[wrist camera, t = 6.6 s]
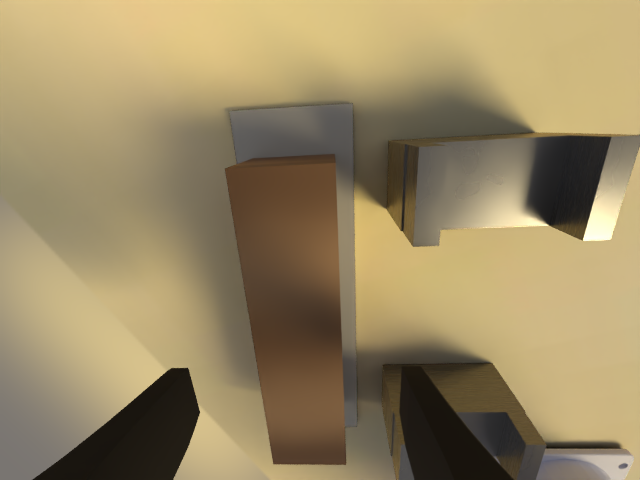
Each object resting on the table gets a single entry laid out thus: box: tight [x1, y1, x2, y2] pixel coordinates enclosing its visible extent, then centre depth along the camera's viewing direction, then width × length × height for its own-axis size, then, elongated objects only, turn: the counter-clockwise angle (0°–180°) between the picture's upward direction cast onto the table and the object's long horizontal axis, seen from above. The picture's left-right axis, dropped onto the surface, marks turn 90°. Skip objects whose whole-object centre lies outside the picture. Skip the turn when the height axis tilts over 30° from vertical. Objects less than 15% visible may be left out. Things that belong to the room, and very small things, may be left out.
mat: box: [229, 103, 357, 427], centre depth 15 cm, size 18×5×1 cm, turn 3°
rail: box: [225, 154, 346, 465], centre depth 13 cm, size 14×4×4 cm, turn 3°
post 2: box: [382, 363, 546, 480], centre depth 15 cm, size 3×6×4 cm, turn 93°
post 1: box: [387, 133, 640, 247], centre depth 11 cm, size 3×6×4 cm, turn 93°
